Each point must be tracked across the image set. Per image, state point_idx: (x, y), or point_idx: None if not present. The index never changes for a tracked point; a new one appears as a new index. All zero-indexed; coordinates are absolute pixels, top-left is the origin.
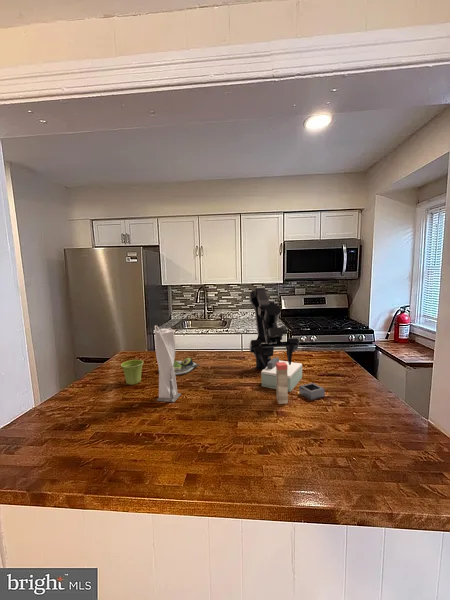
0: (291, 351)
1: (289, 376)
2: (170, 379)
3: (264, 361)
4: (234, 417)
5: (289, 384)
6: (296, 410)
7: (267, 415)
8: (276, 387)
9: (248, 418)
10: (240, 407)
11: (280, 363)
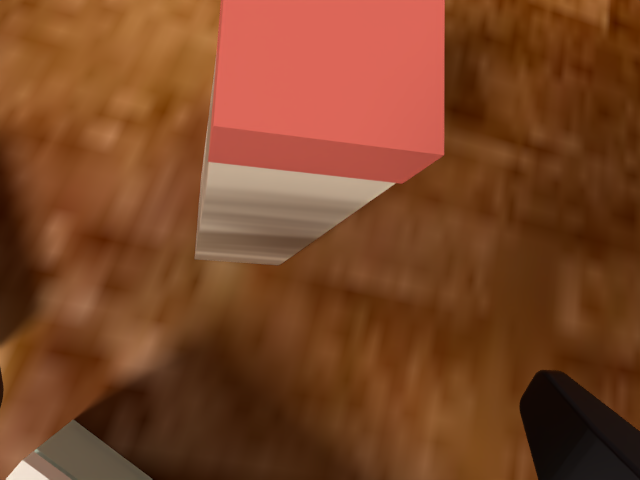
0: None
1: (32, 463)
2: None
3: (619, 425)
4: (624, 80)
5: (61, 440)
6: (175, 42)
7: None
8: (305, 244)
9: (544, 42)
10: (581, 202)
11: (355, 62)
